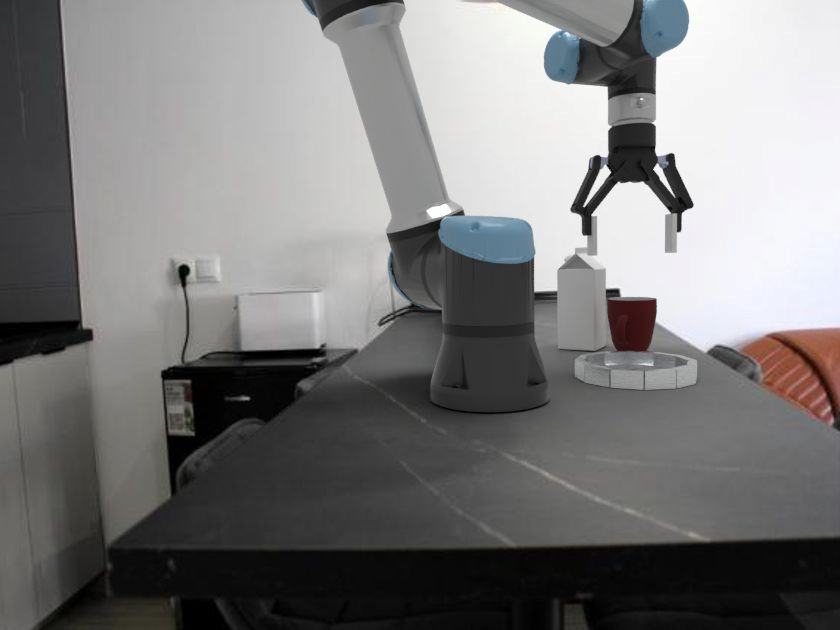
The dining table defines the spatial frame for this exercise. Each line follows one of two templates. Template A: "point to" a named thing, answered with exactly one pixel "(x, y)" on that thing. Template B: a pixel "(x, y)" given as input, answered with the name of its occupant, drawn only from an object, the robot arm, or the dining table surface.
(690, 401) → the dining table surface
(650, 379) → the round white tray
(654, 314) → the mug
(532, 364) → the robot arm
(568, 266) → the milk carton
